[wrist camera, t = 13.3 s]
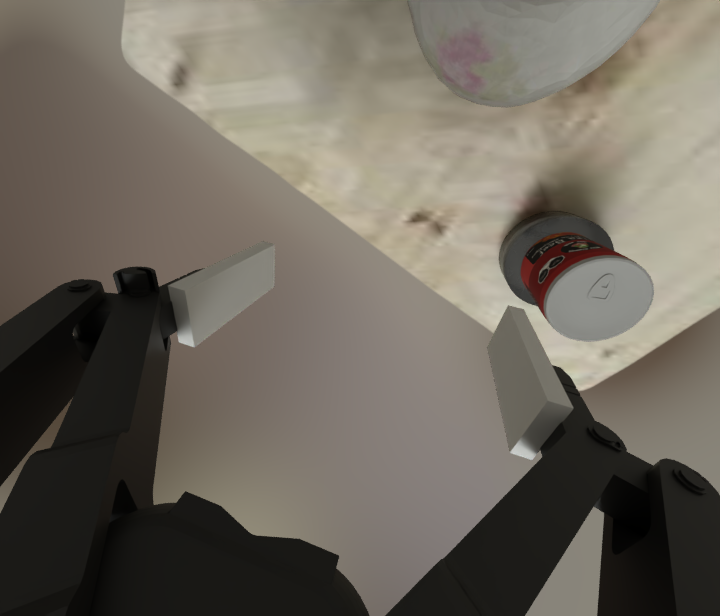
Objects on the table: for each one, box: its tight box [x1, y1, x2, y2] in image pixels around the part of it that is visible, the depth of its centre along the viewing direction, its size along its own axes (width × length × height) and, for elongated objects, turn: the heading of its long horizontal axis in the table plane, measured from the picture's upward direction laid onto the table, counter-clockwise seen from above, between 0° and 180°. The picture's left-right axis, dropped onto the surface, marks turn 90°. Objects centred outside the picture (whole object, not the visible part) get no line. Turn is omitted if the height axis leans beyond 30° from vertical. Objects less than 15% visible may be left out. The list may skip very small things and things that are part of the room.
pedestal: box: [499, 211, 614, 306], centre depth 36 cm, size 11×11×5 cm
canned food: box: [521, 232, 654, 342], centre depth 29 cm, size 8×8×11 cm
